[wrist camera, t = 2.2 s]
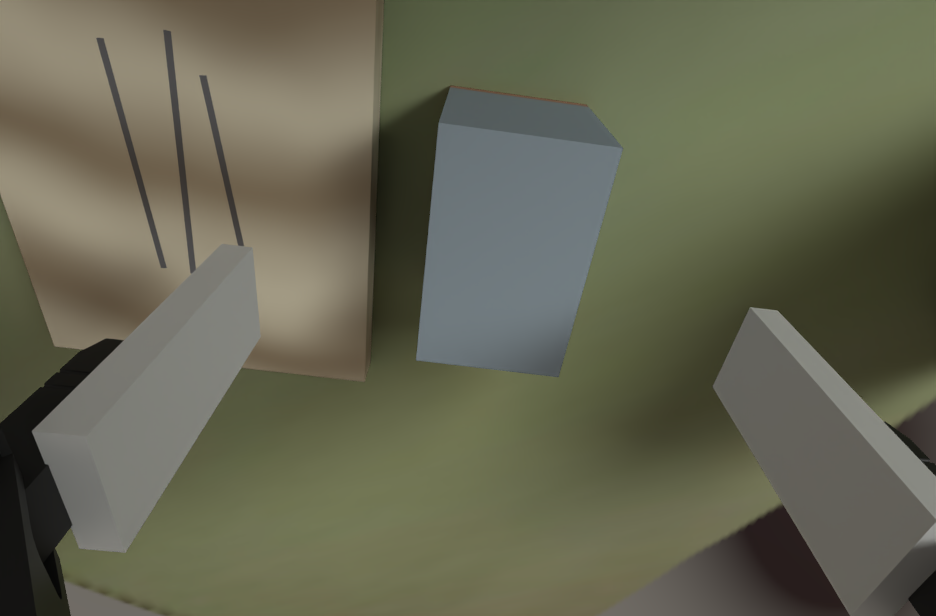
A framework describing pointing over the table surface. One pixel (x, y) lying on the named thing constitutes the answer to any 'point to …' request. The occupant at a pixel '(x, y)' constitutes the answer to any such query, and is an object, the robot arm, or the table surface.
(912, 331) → the table surface
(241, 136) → the board
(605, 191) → the block
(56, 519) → the robot arm
